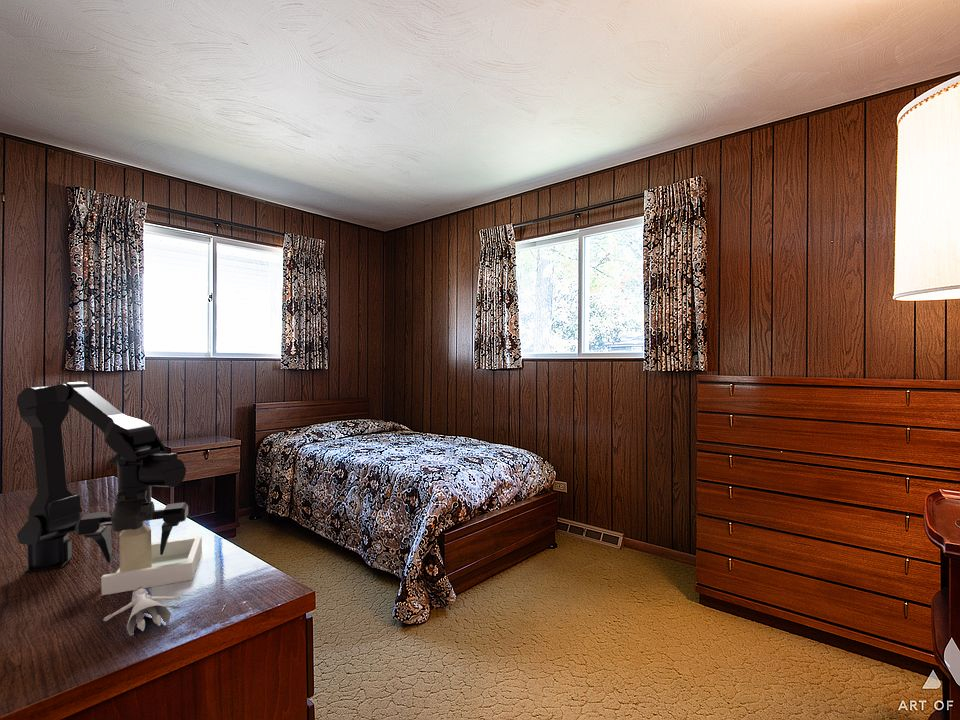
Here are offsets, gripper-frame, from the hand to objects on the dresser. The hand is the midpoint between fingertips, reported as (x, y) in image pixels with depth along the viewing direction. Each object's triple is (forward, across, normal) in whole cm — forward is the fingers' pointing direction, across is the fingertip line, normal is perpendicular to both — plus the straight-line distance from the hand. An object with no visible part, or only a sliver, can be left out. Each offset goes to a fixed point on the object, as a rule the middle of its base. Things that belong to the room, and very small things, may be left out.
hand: (136, 558), depth 103 cm
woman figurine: (+4, +5, -21) cm, 22 cm away
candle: (+3, 0, 0) cm, 3 cm away
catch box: (+3, +3, 0) cm, 5 cm away
